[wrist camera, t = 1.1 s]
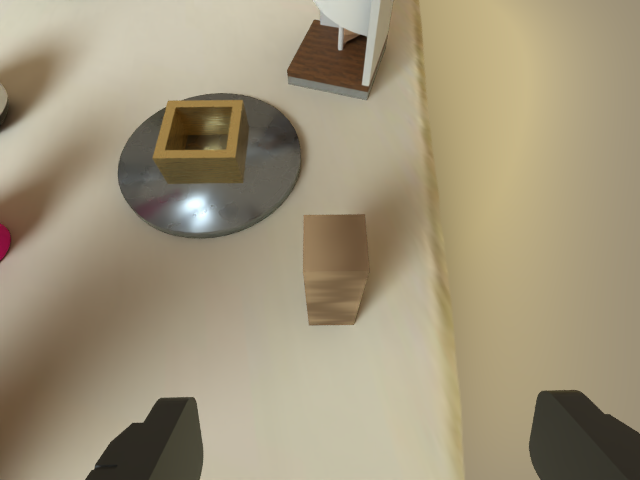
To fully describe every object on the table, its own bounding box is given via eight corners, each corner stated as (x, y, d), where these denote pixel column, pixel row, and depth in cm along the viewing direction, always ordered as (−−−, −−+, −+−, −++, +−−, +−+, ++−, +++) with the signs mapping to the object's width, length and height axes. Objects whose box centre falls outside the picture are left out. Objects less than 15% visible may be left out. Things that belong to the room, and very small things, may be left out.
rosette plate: (101, 239, 36) (70, 211, 32) (145, 101, 46) (125, 65, 41) (299, 237, 37) (296, 208, 32) (301, 100, 46) (299, 63, 42)
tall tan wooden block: (309, 325, 32) (303, 271, 22) (309, 283, 34) (303, 215, 24) (353, 324, 32) (369, 270, 22) (351, 282, 34) (364, 214, 24)
